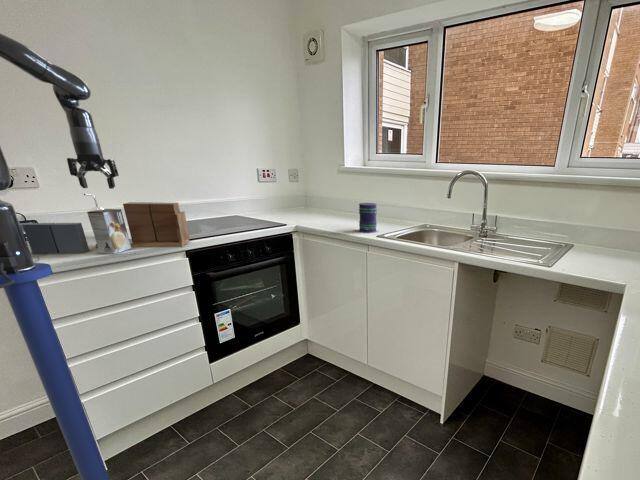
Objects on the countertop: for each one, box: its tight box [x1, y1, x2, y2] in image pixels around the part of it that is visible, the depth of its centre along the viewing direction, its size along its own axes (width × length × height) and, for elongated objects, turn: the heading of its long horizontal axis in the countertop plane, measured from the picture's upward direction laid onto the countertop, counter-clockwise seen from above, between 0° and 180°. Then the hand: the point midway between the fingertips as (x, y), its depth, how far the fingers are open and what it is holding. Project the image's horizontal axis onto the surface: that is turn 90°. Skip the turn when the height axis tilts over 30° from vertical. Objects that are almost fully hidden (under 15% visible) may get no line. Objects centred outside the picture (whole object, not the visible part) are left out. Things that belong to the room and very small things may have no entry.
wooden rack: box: [95, 210, 190, 249], centre depth 150 cm, size 10×32×14 cm, turn 103°
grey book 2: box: [50, 222, 90, 254], centre depth 135 cm, size 4×8×11 cm, turn 103°
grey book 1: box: [22, 222, 60, 255], centre depth 133 cm, size 4×8×11 cm, turn 103°
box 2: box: [149, 201, 181, 242], centre depth 151 cm, size 6×9×16 cm, turn 104°
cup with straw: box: [83, 193, 105, 218], centre depth 159 cm, size 8×9×20 cm
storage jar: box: [358, 202, 378, 233], centre depth 197 cm, size 10×10×15 cm
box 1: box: [122, 201, 157, 242], centre depth 149 cm, size 6×9×16 cm, turn 104°
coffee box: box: [86, 208, 132, 255], centre depth 137 cm, size 9×6×16 cm
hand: (98, 188), depth 132 cm, fingers open, 8 cm apart
